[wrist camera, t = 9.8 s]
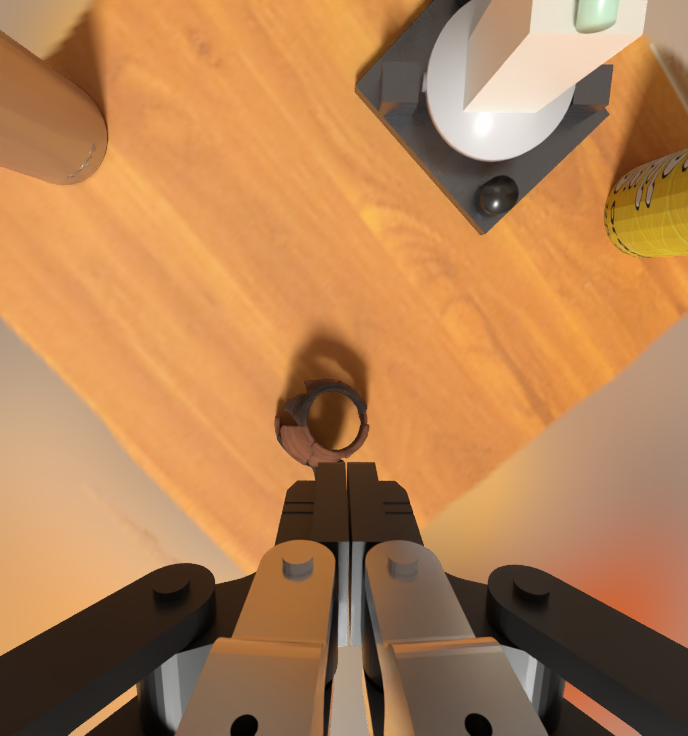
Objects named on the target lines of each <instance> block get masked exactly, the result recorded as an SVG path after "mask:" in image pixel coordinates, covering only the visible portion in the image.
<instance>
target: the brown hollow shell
mask: <svg viewBox="0 0 688 736" xmlns="http://www.w3.org/2000/svg"><path fill="white" fill-rule="evenodd" d="M304 383H305V384H306V389H307V394H299V395H296V396H295V397H294V398H292V399H289V400H288V401H287V402H286V404H285V407H284V410H285V411H287V412H289V413H290V415H291V416H292V417H293V418H294V420H295V421H296V423H297V424H298V425H293V426H288V425H283V426H282V427H281V429H280V417H275V432H276V436H277V439H278V442H279V443H280V444H281V446H282V447H283V448H284V449H285V450H286V452H287V453H288V454H289V455H291V456H292V457H293V458H294V459H295V460H297V461H298V462H300V463H301V464H303V465H307V466H309V467H311V468H312V469H313V471H314V475H315V481H316V478H317V467H318V462H344V461H343V460H341V458H344V457H345V458H348V457H350V456H351V455H352V454H353V453H354V452H356V451H357V450H358V449H359V448H360V447H361V446H362V445H363V443H364V442H365V440H366V438H367V436H368V431H369V425H368V424H367V413H366V410H367V405H366V403H365V401H364V400H363V398H362V397H361V396H360V395H359V394H358V393H357V392H356V391H355V390H354V389H352V388H351V387H350V386H348V385H347V384H345V383H343V382H341V381H337V382H336V381H335V380H333V379H323V380H309V381H305V382H304ZM328 391H337V392H340V393H343V394H344V395H346V396H348V397H349V398H350V399H351V400H352V401H353V402H354V404H355V405H356V407H357V409H358V414H359V418H360V421H361V425H360V428H359V432H358V435H357V437H356V438H355V440H354V441H353V442H352V443H351V444H350V445H349V446H347V447H345V448H343V449H340V450H331V449H327V448H325V447H323V446H321V445H320V444H319V443H318V442H317V441H316V440H315V439H314V437H313V436H312V434H311V432H310V429H309V426H308V423H307V422H308V411H309V408H310V406H311V404H312V402H313V401H314V400H315V398H316V397H317V396H319V395H320V394H322V393H324V392H328Z"/></svg>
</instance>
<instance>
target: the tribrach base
mask: <svg viewBox="0 0 688 736" xmlns="http://www.w3.org/2000/svg"><path fill="white" fill-rule="evenodd" d="M470 1H471V0H434V1H433V2H432V3H431V4H430V5H429V6H428V7H427V8H426V9H425V10H424V11H423V12H422V14H421V15H420V16H419V17H418V18H417V19H416V20H415V21H414V22H413V23H412V24H411V25H410V27H409V28H408V29H407V30H406V31H405V32H404V33H403V34H402V35H401V36H400V37H399V38H398V40H397V41H396V42H395V43H394V44H393V45H392V46H391V47H390V48H389V49H388V50H387V51H386V53H385V54H384V55H383V56H382V57H381V58H380V59H379V60H378V61H377V62H376V63H375V64H374V66H373V67H372V68H371V69H370V70H369V71H368V72H367V73H366V74H365V75H364V76H363V77H362V79H361V80H360V81H359V82H358V83H357V84H356V85H355V93H356V94H357V95H358V96H359V97H360V98H361V100H362V101H363V102H364V103H365V104H366V105H367V106H368V107H369V109H370V110H371V111H372V112H373V113H374V114H375V115H376V117H377V118H378V119H379V120H380V121H381V122H382V123H383V125H384V126H385V127H386V128H387V129H388V130H389V131H390V133H391V134H392V135H393V136H394V137H395V138H396V139H397V141H398V142H399V143H400V144H401V145H402V146H403V147H404V149H405V150H406V151H407V152H408V153H409V154H410V155H411V157H412V158H413V159H414V160H415V161H416V162H417V163H418V164H419V166H420V167H421V168H422V169H423V170H424V171H425V172H426V174H427V175H428V176H429V177H430V178H431V179H432V180H433V182H434V183H435V184H436V185H437V186H438V187H439V188H440V190H441V191H442V192H443V193H444V194H445V195H446V196H447V198H448V199H449V200H450V201H451V202H452V203H453V204H454V206H455V207H456V208H457V209H458V210H459V211H460V212H461V214H462V215H463V216H464V217H465V218H466V219H467V220H468V222H469V223H470V224H471V225H472V226H473V227H474V228H475V229H476V231H477V232H478V233H479V234H480V235H483V234H486V233H487V232H488V231H489V230H490V229H491V228H492V227H493V226H494V225H495V224H496V223H497V222H498V221H499V220H500V219H501V218H502V217H503V216H505V215H506V214H507V213H508V212H509V211H510V210H511V209H512V208H513V207H514V206H515V205H516V204H517V203H518V202H519V201H520V200H521V199H522V198H523V197H524V196H525V195H526V194H527V193H528V192H529V191H531V190H532V189H533V188H534V187H535V186H536V185H537V184H538V183H539V182H540V181H541V180H542V179H543V178H544V177H545V176H546V175H547V174H548V173H549V172H550V171H551V170H552V169H553V168H554V167H556V166H557V165H558V164H559V163H560V162H561V161H562V160H563V159H564V158H565V157H566V156H567V155H568V154H569V153H570V152H571V151H572V150H573V149H574V148H575V147H576V146H577V145H578V144H579V143H580V142H582V141H583V140H584V139H585V138H586V137H587V136H588V135H589V134H590V133H591V132H592V131H593V130H594V129H595V128H596V127H597V126H598V125H599V124H600V123H601V122H602V121H603V120H604V119H605V118H606V117H608V116H609V115H610V114H609V113H608V112H607V110H606V109H605V108H604V107H606V106H607V105H609V97H610V89H611V81H612V73H613V65H600V66H599V67H598V68H596V69H595V70H593V71H592V72H591V73H589V74H588V75H587V76H585V77H584V78H583V79H581V80H580V81H578V82H577V83H576V85H575V90H574V93H573V97H572V100H571V103H570V105H569V107H568V110H567V112H566V113H565V115H564V117H563V119H562V120H561V122H560V123H559V124H558V126H557V127H556V129H555V130H554V131H553V132H552V133H551V134H550V135H549V136H548V137H547V138H546V139H545V140H544V141H542V142H541V143H540V144H538V145H537V146H535V147H534V148H532V149H531V150H529V151H527V152H525V153H523V154H521V155H519V156H517V157H514V158H511V159H509V160H504V161H496V162H486V161H479V160H475V159H471V158H469V157H466V156H464V155H462V154H460V153H459V152H457V151H456V150H454V149H453V148H452V147H450V146H449V145H448V144H447V143H446V142H445V141H444V140H443V138H442V137H441V136H440V134H439V133H438V132H437V130H436V128H435V126H434V124H433V122H432V120H431V117H430V115H429V112H428V108H427V104H426V96H425V92H421V81H422V75H423V72H426V70H427V66H428V61H429V58H430V55H431V53H432V50H433V48H434V45H435V43H436V41H437V39H438V37H439V35H440V33H441V31H442V30H443V28H444V27H445V25H446V24H447V22H448V21H449V20H450V19H451V18H452V16H453V15H454V14H455V13H456V12H457V11H458V10H459V9H460V8H461V7H463V6H464V5H465V4H467V3H468V2H470Z"/></svg>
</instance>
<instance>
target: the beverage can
mask: <svg viewBox="0 0 688 736" xmlns="http://www.w3.org/2000/svg"><path fill="white" fill-rule="evenodd" d="M604 224H605V228H606V231H607V235H608V236H609V238H610V240H611V241H612V243H613V244H614V245H615V246H616V247H617V248H618V249H619V250H620V251H622V252H623V253H626V254H628V255H630V256H633V257H641V258H649V257H666V256H683V255H688V148H686V149H683V150H680V151H677V152H675V153H672V154H669V155H667V156H664V157H661V158H658V159H656V160H653V161H650V162H647V163H645V164H642V165H640V166H638V167H635V168H633V169H631V170H630V171H629V172H627V173H626V174H625V175H623V176H622V177H621V178H620V179H619V180H618V182H617V183H616V184H615V185H614V186H613V188H612V190H611V192H610V194H609V196H608V198H607V202H606V206H605V210H604Z"/></svg>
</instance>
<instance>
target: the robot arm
mask: <svg viewBox="0 0 688 736" xmlns="http://www.w3.org/2000/svg"><path fill="white" fill-rule="evenodd" d="M106 147H107V130H106V126H105V122H104V118H103V116H102V114H101V112H100V110H99V108H98V106H97V105H96V103H95V102H94V101H93V99H92V98H91V97H90V96H89V95H88V94H87V93H86V92H85V91H84V90H82V89H81V88H80V87H78V86H77V85H75V84H74V83H73V82H71V81H70V80H68V79H67V78H66V77H64V76H63V75H62V74H60V73H59V72H58V71H56V70H55V69H54V68H52V67H51V66H49V65H48V64H47V63H45V62H44V61H42V60H41V59H40V58H38V57H37V56H35V55H34V54H33V53H31V52H30V51H28V50H27V49H26V48H24V47H23V46H22V45H20V44H19V43H17V42H16V41H15V40H13V39H12V38H10V37H9V36H7V35H6V34H5V33H4V32H2V31H1V30H0V167H3V168H6V169H9V170H13V171H16V172H19V173H22V174H25V175H28V176H31V177H34V178H37V179H40V180H43V181H47V182H50V183H54V184H60V185H68V184H74V183H78V182H81V181H83V180H85V179H87V178H88V177H90V176H91V175H92V174H93V173H94V172H95V171H96V170H97V169H98V167H99V166H100V164H101V163H102V161H103V158H104V155H105V153H106ZM348 596H349V597H348ZM348 599H349V623H350V624H349V625H350V646H362V658H363V663H362V689H363V697H364V704H365V710H366V718H367V724H368V731H369V736H615V735H613V734H612V733H611V732H609V731H608V730H607V729H605V728H604V727H603V726H601V725H600V724H598V723H597V722H596V721H594V720H593V719H592V718H590V717H589V716H588V715H586V714H585V713H584V712H582V711H581V710H579V709H578V708H577V707H575V706H574V705H573V704H571V703H570V702H569V701H567V700H566V699H565V698H563V694H564V687H565V681H567V682H569V683H570V684H572V685H573V686H574V687H576V688H577V689H579V690H580V691H581V692H583V693H584V694H586V695H587V696H588V697H590V698H591V699H593V700H594V701H596V702H597V703H598V704H600V705H601V706H603V707H604V708H605V709H607V710H608V711H610V712H611V713H613V714H614V715H616V716H617V717H618V718H620V719H621V720H622V721H624V722H625V723H627V724H628V725H630V726H631V727H632V728H634V729H635V730H636V731H637V732H639V733H640V734H641V735H642V736H688V648H686V647H684V646H682V645H680V644H678V643H676V642H675V641H673V640H671V639H669V638H667V637H665V636H664V635H662V634H660V633H658V632H656V631H654V630H652V629H651V628H649V627H647V626H645V625H643V624H641V623H640V622H638V621H636V620H634V619H632V618H630V617H628V616H627V615H625V614H623V613H621V612H619V611H617V610H615V609H613V608H612V607H610V606H608V605H606V604H604V603H602V602H600V601H599V600H597V599H595V598H593V597H591V596H589V595H588V594H586V593H584V592H582V591H580V590H578V589H576V588H574V587H573V586H571V585H569V584H567V583H565V582H563V581H562V580H560V579H558V578H556V577H554V576H552V575H551V574H548V573H546V572H544V571H542V570H539V569H536V568H533V567H529V566H524V565H506V566H502V567H499V568H497V569H495V570H494V571H493V572H492V573H491V574H490V576H489V579H488V585H486V584H482V583H477V582H473V581H468V580H464V579H461V578H458V577H455V576H452V575H450V574H448V573H446V572H444V570H443V568H442V566H441V564H440V562H439V560H438V558H437V557H436V556H435V554H434V553H433V552H432V551H430V550H429V549H427V548H426V547H424V544H423V541H422V538H421V535H420V532H419V529H418V526H417V523H416V520H415V516H414V515H413V510H412V507H411V505H410V501H409V498H408V495H407V492H406V490H405V489H404V488H402V487H401V486H400V485H399V484H398V483H397V482H396V481H378V476H377V471H376V466H375V462H347V490H346V469H345V462H318V467H317V478H316V481H296V482H295V483H294V484H293V485H292V486H291V487H290V488H289V489H288V490H287V493H286V497H285V502H284V506H283V511H282V515H281V519H280V524H279V528H278V533H277V537H276V542H275V546H274V547H273V548H271V549H270V550H268V551H267V552H266V553H265V554H264V556H263V557H262V559H261V561H260V564H259V567H258V569H257V571H256V572H255V573H253V574H251V575H249V576H246V577H244V578H241V579H237V580H233V581H229V582H224V583H220V584H215V578H214V576H213V574H212V573H211V572H210V571H209V570H208V569H207V568H205V567H203V566H200V565H197V564H192V563H180V564H173V565H169V566H165V567H162V568H159V569H157V570H155V571H153V572H151V573H149V574H147V575H145V576H144V577H142V578H140V579H138V580H136V581H134V582H133V583H131V584H129V585H127V586H126V587H124V588H122V589H120V590H118V591H116V592H115V593H113V594H111V595H109V596H107V597H106V598H104V599H102V600H100V601H99V602H97V603H95V604H93V605H91V606H90V607H88V608H86V609H84V610H82V611H81V612H79V613H77V614H75V615H73V616H72V617H70V618H68V619H66V620H65V621H63V622H61V623H59V624H57V625H56V626H54V627H52V628H50V629H48V630H46V631H45V632H43V633H41V634H39V635H38V636H36V637H34V638H32V639H30V640H29V641H27V642H25V643H23V644H21V645H19V646H18V647H16V648H14V649H13V650H10V651H9V652H7V653H5V654H3V655H2V656H0V736H68V735H69V734H70V733H71V732H72V731H74V730H75V729H76V728H77V727H79V726H80V725H81V724H83V723H84V722H85V721H87V720H88V719H89V718H91V717H92V716H93V715H95V714H96V713H97V712H99V711H100V710H102V709H103V708H104V707H106V706H107V705H108V704H109V703H111V702H112V701H113V700H115V699H116V698H118V697H119V696H120V695H122V694H123V693H124V692H126V691H127V690H128V689H130V688H131V687H132V686H134V685H135V684H136V687H137V696H135V697H134V698H133V699H131V700H130V701H129V702H128V703H126V704H125V705H124V706H122V707H121V708H120V709H119V710H117V711H116V712H114V713H113V714H112V715H111V716H109V717H108V718H107V719H105V720H104V721H103V722H102V723H100V724H99V725H98V726H96V727H95V728H94V729H92V730H91V731H90V732H89V733H87V734H86V735H85V736H330V726H331V714H332V702H333V691H334V674H335V672H336V669H337V664H338V647H346V646H347V616H348V615H347V614H348Z"/></svg>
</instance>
